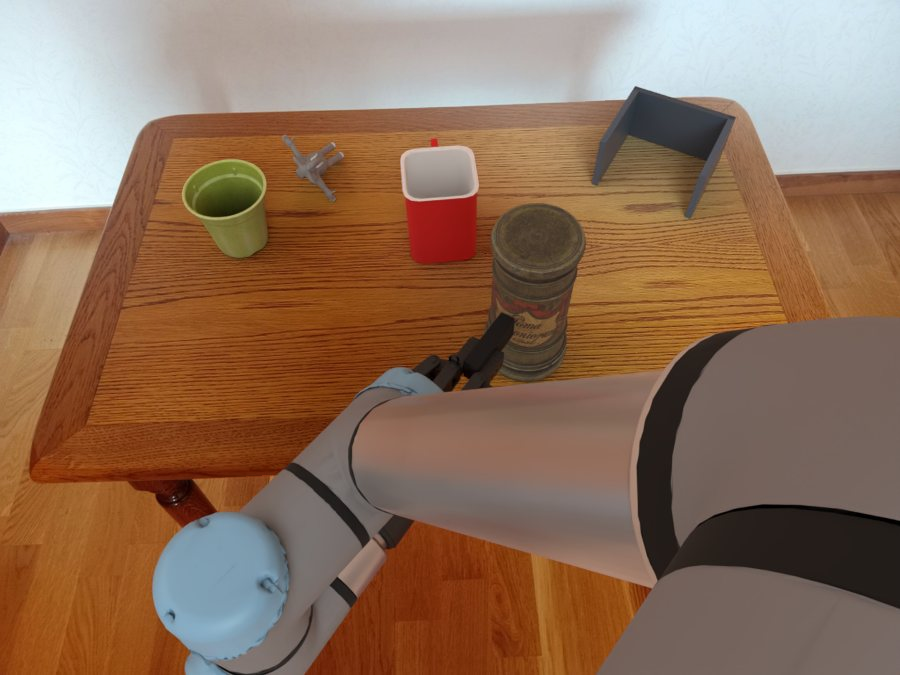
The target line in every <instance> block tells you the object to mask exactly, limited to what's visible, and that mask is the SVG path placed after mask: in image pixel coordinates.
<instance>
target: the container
mask: <svg viewBox="0 0 900 675" xmlns="http://www.w3.org/2000/svg"><path fill="white" fill-rule="evenodd" d="M489 238H490V239H489V244H490V249H491V252H492V260H491V261H492V262H491V271H492V275H491V276H492V277H491V296H490V297H491V298H490V307H489V309H488V313H487V320H486V323H485V325H484V329H483V330H484V331H483V335H484V334H485V332H486V331H487V330H488V329H489V327H490V326H491V325H492V323H493V322H494V321H495V320H496V318H497V317H498V316H499V314H500V313H501V312H502V313H504V314H506V315H508V316H510V317H512V318H514V319H515V323H514V332H513V336H512V338H511V339H510V340H509V342H508V343H507V344H506V346H505V347H504V348H503V350H502V352H504V362H503V366H502V367H501V369H500V370H499V371H498V374H500V375H501V376H503V377H505V378H507V379H509V380H512V381H517V382H520V383H521V382H522V383H531V382H532V383H533V382H537V381H540V380H543V379H546V378H548V377H549V376H551V375H552V374H554V373H555V372H556V371H557V370H558V369H559V368H560V366H561V365H562V364H563V361H564V359H565V357H566V353H567V344H568V335H567V329H568V322H569V321H568V313H569V309H570V305H571V299H572V295H573V292H574V286H575V283H576V280H577V277H578V265H579V264H580V262H581V260H582V258H583V257H584V254H585V251H586V246H587V238H586V234H585V231H584V228H583V226H582V224H581V223H580V222H579V220H578V219H577V218H576V217H575V216H574V215H573V214H572V213H570V212H569V211H567V209H564V208H562V207H559V206H557V205H554V204H549V203H546V202H545V203H544V202H528V203H523V204H519V205H517V206H514V207H511V208H510V209H508V210H507V211H505V212H504V213H503V214H501V216H500V217H499V218H498V219H497V220H496V221H495V223H494V225H493V227H492V229H491V232H490V236H489Z"/></svg>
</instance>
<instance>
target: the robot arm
mask: <svg viewBox="0 0 900 675" xmlns="http://www.w3.org/2000/svg"><path fill="white" fill-rule="evenodd" d="M514 323H515V319H514V318H512V317H510V316H508V315H506V314H504V313H502V312H501V313H500V314H499V316H498V317H497V318H496V320H495V321H494V322H493V323H492V325H491V326H490V327H489V329H488V330H487V331H486V332H485V334H484V333H483V334H482V336H481V337H480V338H477V337H476V336H471V337H469V338H468V339H467V340H466V341H465V343H464V344H463V345H462V346H461V348H460V349H459V350H458V351H457V353H453V354H450V355H449V356H448V359H445V358H441V357H440V356H439V355H437V354H430V355H428V356H427V357H426V358H425V359H423V360H422V361H421V362H419V363H418V364H417V365H416V366H414V367H413V368H412V369H410V368H408V367H404V366H398V367H392V368H389V369H388V370H386V371H385V372H383V373H382V374H381V375H380V376H379V377H378V378H377V379H375V380H374V381H373V382H372V383H371V384H370V385H367V387H365V388H363V389H362V390H360V391H359V392H358V393H357V394H356V395H355V396H354V397H353V399H352V401H351V402H350V404H348V405H347V406H346V407H345V408H344V409H343V410H342V411H341V412H340V413H339V414H338V415H337V416H336V418H335V419H333V420H332V421H331V422H330V423H329V424H328V425H327V426H325V428H324V429H323V430H322V431H321V432H320V433H318V435H317V436H316V437H315V438H313V440H312V441H311V442H310V443H309V444H308V445H307V446H306V447H305V448H304V449H303V450H302V451H301V452H300V453H299V454H297V456H296V457H295V458H293V460H292V461H291V462H290V463H288V464H287V465H286V466H285V467H284V468H283V469H282V470H280V471H279V472H278V473H277V474H276V476H274V477H273V478H272V479H271V480H270V481H269V482H268V483H267V484H266V485H265V486H264V487H263V488H262V489H260V491H259V492H257V494H256V495H254V496H253V497H252V498H251V500H250V501H248V502H247V503H246V504H245V505H244V506H243V507H241V509H240V510H239V511H218V512H214V513H211V514H209V515H205V516H203V517H201V518H199V519H195V520H193V521H190V522H189V523H188V524H186V525H185V526H183V527H182V528H181V529H180V530H178V532H176V533H175V534H174V535H173V537H172V538H170V540H169V541H168V543H167V544H166V546H164V548H163V550H162V551H161V553H160V555H159V558H158V561H157V562H156V565H155V568H154V572H153V577H152V584H151V586H152V587H151V588H152V589H151V592H152V599H153V600H152V601H153V605H154V609H155V612H156V614H157V616H158V618H159V620H160V621H161V623H162V624H163V625H164V628H165V629H166V631H168V632H169V633H171V634H172V635H173V636H174V637H176V638H177V639H178V641H180V642H181V644H182V645H183V646H184V647H185V648H186V649H187V650H189V652H190V654H189V655H188V656H187V657H186V659H185V663H184V674H185V675H305V674H307V672H308V670H309V669H310V667H311V666H312V665H313V663H314V662H315V660H316V659H317V657H318V656H319V655H320V653H321V652H322V650H323V649H324V647H326V645H327V643H328V642H329V640H330V639H331V638H332V636H333V635H334V633H335V632H336V631H337V629H338V628H339V626H340V625H341V624H342V622H343V621H344V620H345V618H346V617H347V615H348V614H349V612H350V611H351V609H352V608H353V606H354V605H355V604H356V602H357V600H359V598H360V597H361V595H362V594H363V592H365V590H366V588H367V587H368V586H369V584H371V582H372V580H373V579H374V578H375V576H376V575H377V573H378V572H379V571H380V570H381V569H382V567H383V565H384V564H385V563H386V561H388V560H387V559H388V557H387V553H386V550H392V549H395V548H396V547H397V546H398V545H399V544H400V542H401V541H402V539H403V538H404V536H405V535H406V533H407V532H408V531H409V530H410V528H411V527H412V525H413V524H414V522H418V523H423V524H425V525H429V526H433V527H436V528H440V529H444V530H447V531H451V532H453V533H458V534H461V535H465V536H468V537H471V538H475V539H478V540H481V541H485V542H488V543H493V544H496V545H500V546H503V547H505V548H509V549H513V550H516V551H521V552H524V553H527V554H530V555H535V556H538V557H541V558H545V559H548V560H552V561H556V562H559V563H563V564H566V565H569V566H573V567H576V568H580V569H582V570H586V571H590V572H593V573H597V574H602V575H604V576H608V577H611V578H614V579H618V580H622V581H625V582H629V583H632V584H634V585H635V584H636V585H639V586H643V587H645V588H646V587H647V588H649V589H651V590H650V591H649V593H648V595H647V596H646V598H645V599H644V601H643V602H642V604H641V605H640V606H639V608H638V610H637V611H636V613H635V614H634V615H633V617H632V619H631V620H630V622H629V624H628V625H627V627H626V628H625V630H624V631H623V632H622V634H621V636H620V637H619V638H618V640H617V641H616V643H615V645H614V646H613V648H612V649H611V651H610V652H609V654H608V656H606V658H605V660H603V663H602V664H601V666H600V668H599V669H598V671H597V672H596V673H595V675H900V317H896V316H876V315H875V316H874V315H873V316H871V315H870V316H869V315H862V316H860V315H859V316H845V317H830V318H829V317H828V318H827V317H826V318H815V319H809V320H802V321H793V322H785V323H775V324H765V325H760V326H754V327H749V328H742V329H736V330H734V329H733V330H728V331H722V332H717V333H712V334H710V335H707V336H704V337H701V338H699V339H697V340H696V341H694V342H692V343H690V344H689V345H687V346H686V347H685V348H684V349H682V350H681V351H680V352H679V353H677V354H676V355H675V356H674V357H673V359H672V360H671V361H670V362H669V363H668V364H667V365H666V366H665V367H664V368H663V369H659V370H650V371H640V372H639V371H638V372H630V373H619V374H609V375H601V376H599V375H598V376H591V377H581V378H571V379H561V380H551V381H542V382H532V383H531V382H530V383H522V384H513V385H512V384H511V385H502V386H492V384H491V382H492V381H493V380H494V378H495V377H496V376H497V374H499V372H498V371H499V370H500V369H501V367H502V366H503V362H504V352H502V350H503V348H504V347H505V346H506V344H507V343H508V342H509V340H510V339H511V338H512V336H513V332H514ZM462 376H463V377H464V378H465V379H467V382H466V383H465V384H464V385H463V387H462V388H461V389H460V390H454V389H455V388H456V387H457V385H458V384H459V383H460V381H461V379H462Z"/></svg>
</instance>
